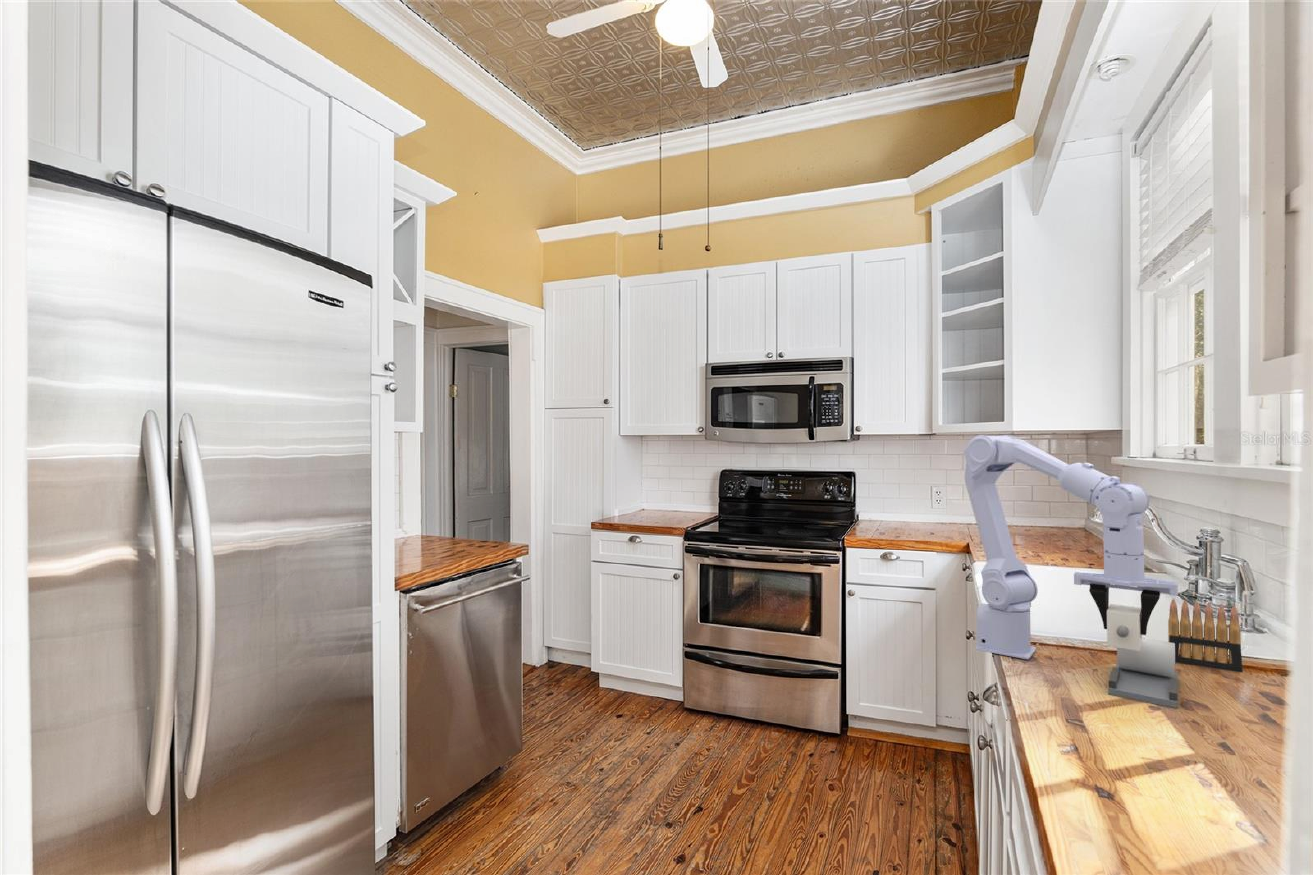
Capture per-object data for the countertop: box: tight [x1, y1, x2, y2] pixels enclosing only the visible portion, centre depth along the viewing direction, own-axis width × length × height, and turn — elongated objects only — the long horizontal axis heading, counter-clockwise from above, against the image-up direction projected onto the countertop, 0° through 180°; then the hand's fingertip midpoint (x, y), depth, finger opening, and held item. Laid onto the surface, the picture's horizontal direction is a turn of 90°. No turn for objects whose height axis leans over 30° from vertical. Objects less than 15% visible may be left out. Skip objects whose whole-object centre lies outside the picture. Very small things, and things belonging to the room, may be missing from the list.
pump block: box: [1106, 603, 1143, 651], centre depth 110 cm, size 4×7×6 cm, turn 140°
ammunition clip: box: [1167, 598, 1244, 673], centre depth 121 cm, size 11×2×12 cm, turn 55°
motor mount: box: [1107, 637, 1180, 709], centre depth 110 cm, size 9×16×7 cm, turn 140°
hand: (1124, 630), depth 111 cm, fingers closed on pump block, 4 cm apart
